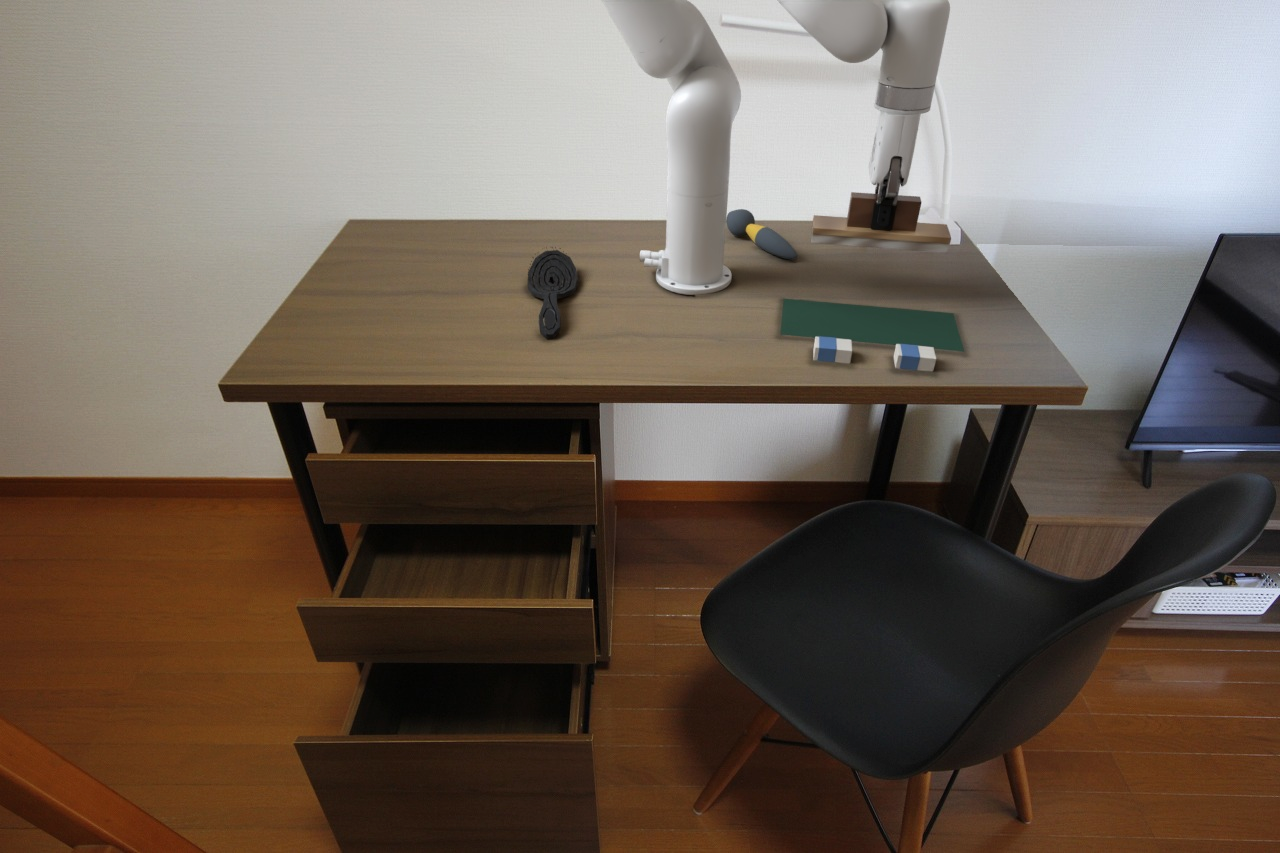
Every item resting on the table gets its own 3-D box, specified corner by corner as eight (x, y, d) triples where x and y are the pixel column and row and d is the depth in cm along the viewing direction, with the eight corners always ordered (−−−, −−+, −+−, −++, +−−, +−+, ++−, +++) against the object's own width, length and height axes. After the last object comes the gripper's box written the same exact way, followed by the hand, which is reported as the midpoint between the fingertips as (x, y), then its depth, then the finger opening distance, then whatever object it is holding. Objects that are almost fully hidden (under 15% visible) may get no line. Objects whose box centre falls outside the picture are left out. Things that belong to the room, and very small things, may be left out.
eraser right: (894, 370, 107) (898, 355, 106) (892, 358, 110) (896, 343, 108) (932, 374, 106) (936, 358, 105) (929, 362, 109) (933, 346, 108)
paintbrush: (810, 258, 137) (813, 231, 134) (790, 266, 135) (793, 238, 132) (732, 225, 150) (734, 199, 147) (713, 231, 148) (714, 205, 145)
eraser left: (812, 362, 109) (815, 347, 107) (813, 351, 111) (815, 335, 110) (849, 366, 108) (852, 350, 107) (848, 354, 111) (851, 338, 109)
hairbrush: (519, 323, 112) (527, 245, 131) (521, 345, 114) (529, 265, 134) (577, 321, 112) (577, 244, 132) (578, 343, 115) (577, 264, 134)
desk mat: (779, 337, 115) (779, 334, 114) (782, 300, 124) (783, 298, 124) (964, 354, 111) (964, 351, 111) (952, 315, 120) (953, 313, 120)
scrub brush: (811, 243, 119) (817, 198, 115) (811, 230, 123) (817, 186, 119) (947, 253, 116) (958, 208, 112) (943, 239, 120) (954, 195, 116)
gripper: (872, 82, 114) (853, 205, 125) (878, 110, 102) (856, 244, 112) (926, 84, 113) (901, 208, 124) (939, 112, 100) (910, 248, 111)
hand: (880, 224), depth 118 cm, fingers closed on scrub brush, 2 cm apart
